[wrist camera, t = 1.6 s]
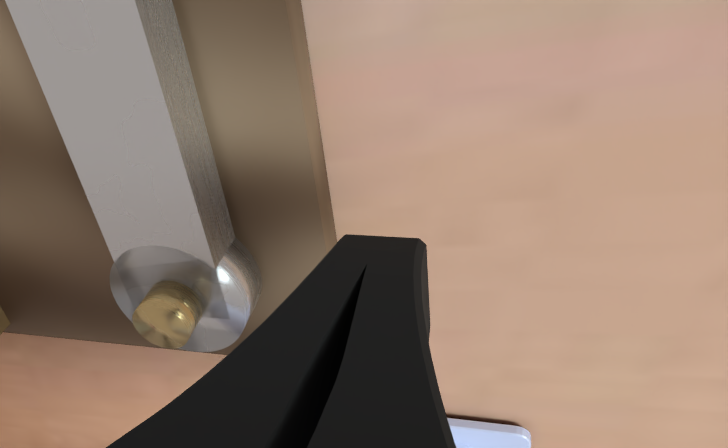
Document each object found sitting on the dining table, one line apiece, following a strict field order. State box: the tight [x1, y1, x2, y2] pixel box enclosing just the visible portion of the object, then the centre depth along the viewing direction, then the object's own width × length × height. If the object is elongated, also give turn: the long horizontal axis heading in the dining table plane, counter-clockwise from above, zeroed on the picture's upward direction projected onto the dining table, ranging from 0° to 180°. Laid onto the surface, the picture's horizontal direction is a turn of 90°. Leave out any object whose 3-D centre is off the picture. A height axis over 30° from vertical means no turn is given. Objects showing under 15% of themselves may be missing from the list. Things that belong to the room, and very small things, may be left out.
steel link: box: [5, 0, 262, 352], centre depth 15 cm, size 13×4×2 cm, turn 5°
